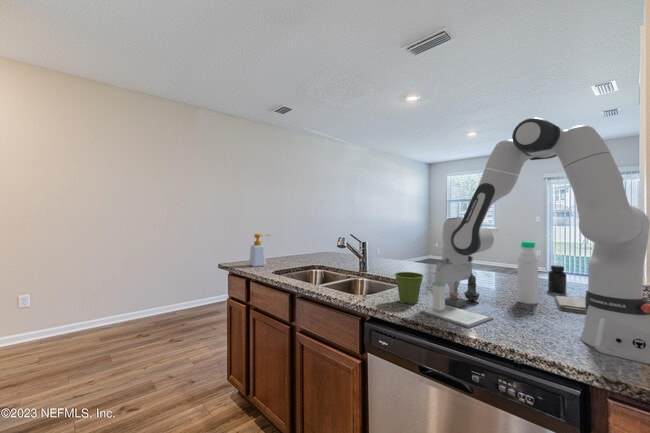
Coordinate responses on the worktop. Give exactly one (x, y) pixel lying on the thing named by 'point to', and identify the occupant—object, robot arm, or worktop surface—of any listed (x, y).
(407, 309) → the worktop surface
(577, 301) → the washcloth
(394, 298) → the worktop surface
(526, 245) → the water bottle
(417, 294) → the plant pot
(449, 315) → the white rectangular board
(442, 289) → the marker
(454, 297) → the button
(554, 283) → the supplement bottle
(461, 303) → the button housing
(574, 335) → the worktop surface
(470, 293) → the dark tiered figurine
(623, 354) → the robot arm
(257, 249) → the soap bottle
